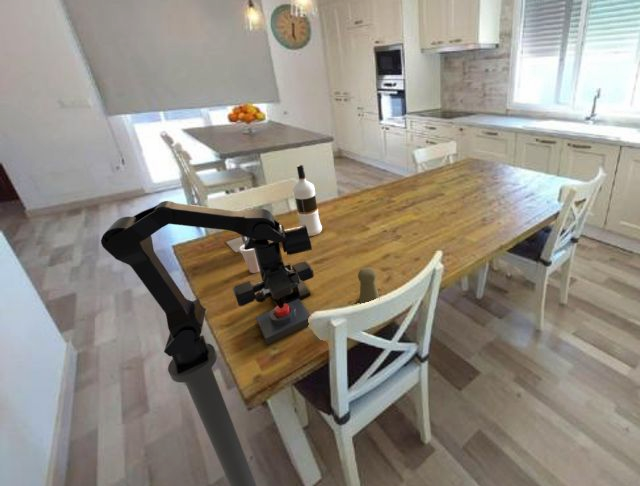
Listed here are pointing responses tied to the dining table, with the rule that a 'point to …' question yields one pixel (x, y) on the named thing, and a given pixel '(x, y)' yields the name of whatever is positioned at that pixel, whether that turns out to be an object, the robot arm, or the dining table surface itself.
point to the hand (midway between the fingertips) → (281, 307)
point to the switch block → (283, 322)
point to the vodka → (306, 204)
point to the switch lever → (260, 296)
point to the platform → (236, 243)
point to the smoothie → (250, 258)
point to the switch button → (282, 311)
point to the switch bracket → (296, 291)
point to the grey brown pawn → (367, 285)
